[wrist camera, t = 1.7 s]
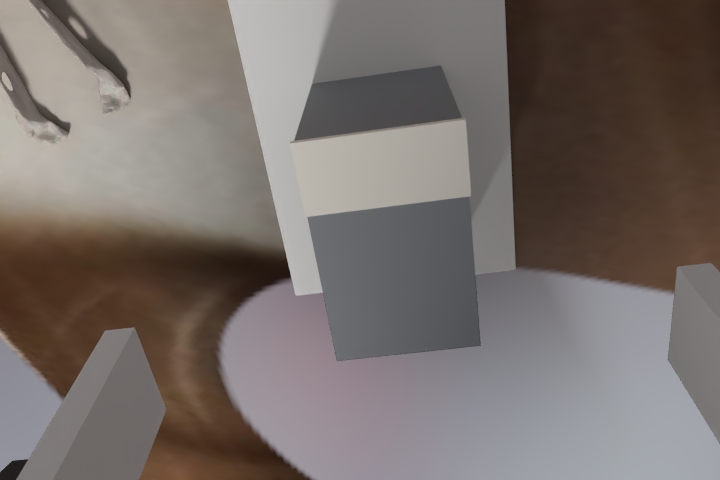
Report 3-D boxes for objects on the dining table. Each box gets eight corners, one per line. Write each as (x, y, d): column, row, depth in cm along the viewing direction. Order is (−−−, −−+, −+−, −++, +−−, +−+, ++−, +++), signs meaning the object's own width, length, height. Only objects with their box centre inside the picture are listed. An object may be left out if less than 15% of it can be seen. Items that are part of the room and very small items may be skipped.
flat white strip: (514, 265, 29) (516, 271, 29) (296, 291, 30) (295, 297, 30) (484, -420, 19) (487, -427, 18) (150, -352, 20) (145, -358, 19)
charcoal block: (458, 247, 28) (482, 347, 22) (343, 261, 29) (335, 363, 23) (441, 62, 25) (465, 119, 18) (310, 81, 25) (289, 143, 19)
